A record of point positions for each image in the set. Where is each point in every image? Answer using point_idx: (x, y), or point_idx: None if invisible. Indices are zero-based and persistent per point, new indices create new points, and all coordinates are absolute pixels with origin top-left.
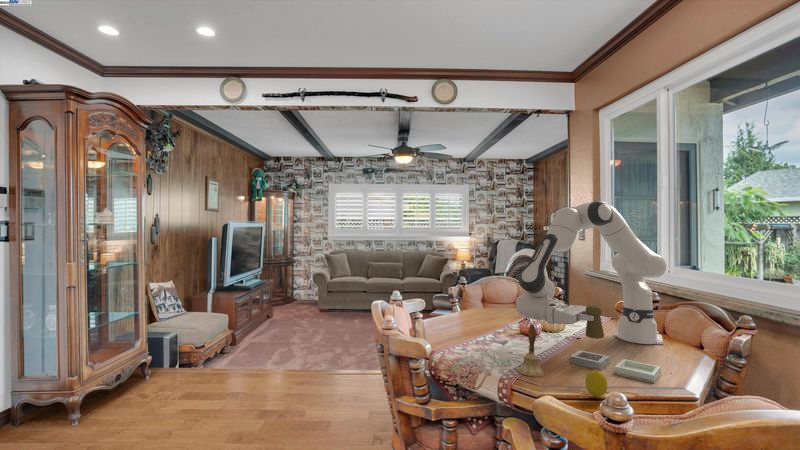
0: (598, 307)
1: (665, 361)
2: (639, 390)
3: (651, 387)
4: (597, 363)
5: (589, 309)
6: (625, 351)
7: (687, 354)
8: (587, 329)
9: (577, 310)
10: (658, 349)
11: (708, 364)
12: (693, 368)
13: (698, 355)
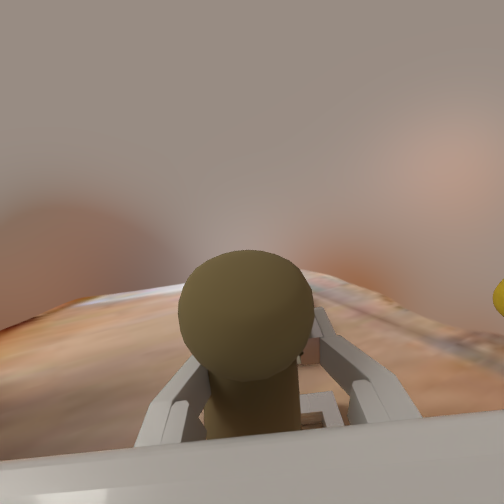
0: (255, 250)
1: (142, 328)
2: (360, 299)
3: (323, 295)
4: (336, 405)
5: (311, 296)
6: (63, 431)
7: (76, 321)
8: (293, 429)
9: (353, 500)
10: (34, 367)
11: (135, 291)
12: (168, 294)
13: (81, 310)
